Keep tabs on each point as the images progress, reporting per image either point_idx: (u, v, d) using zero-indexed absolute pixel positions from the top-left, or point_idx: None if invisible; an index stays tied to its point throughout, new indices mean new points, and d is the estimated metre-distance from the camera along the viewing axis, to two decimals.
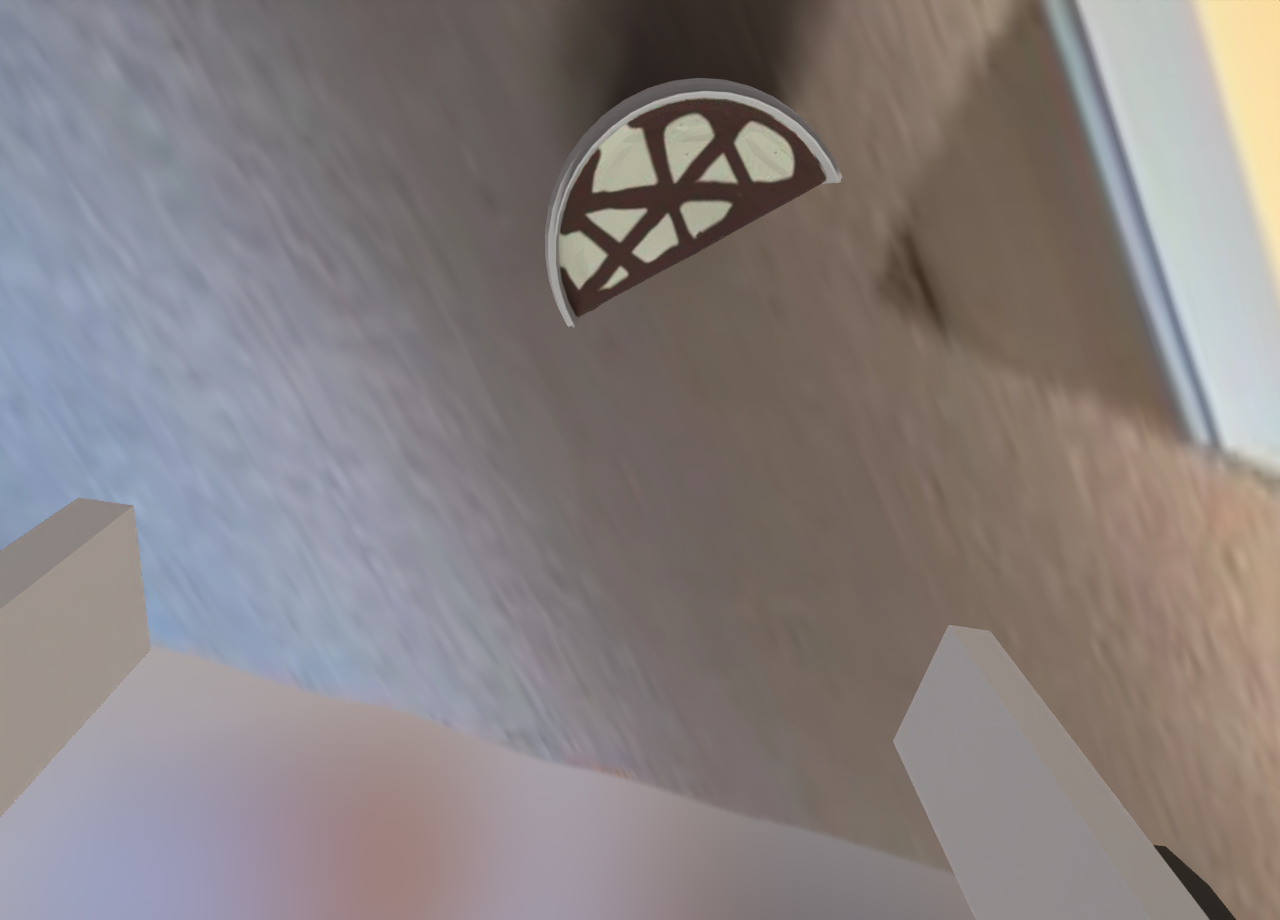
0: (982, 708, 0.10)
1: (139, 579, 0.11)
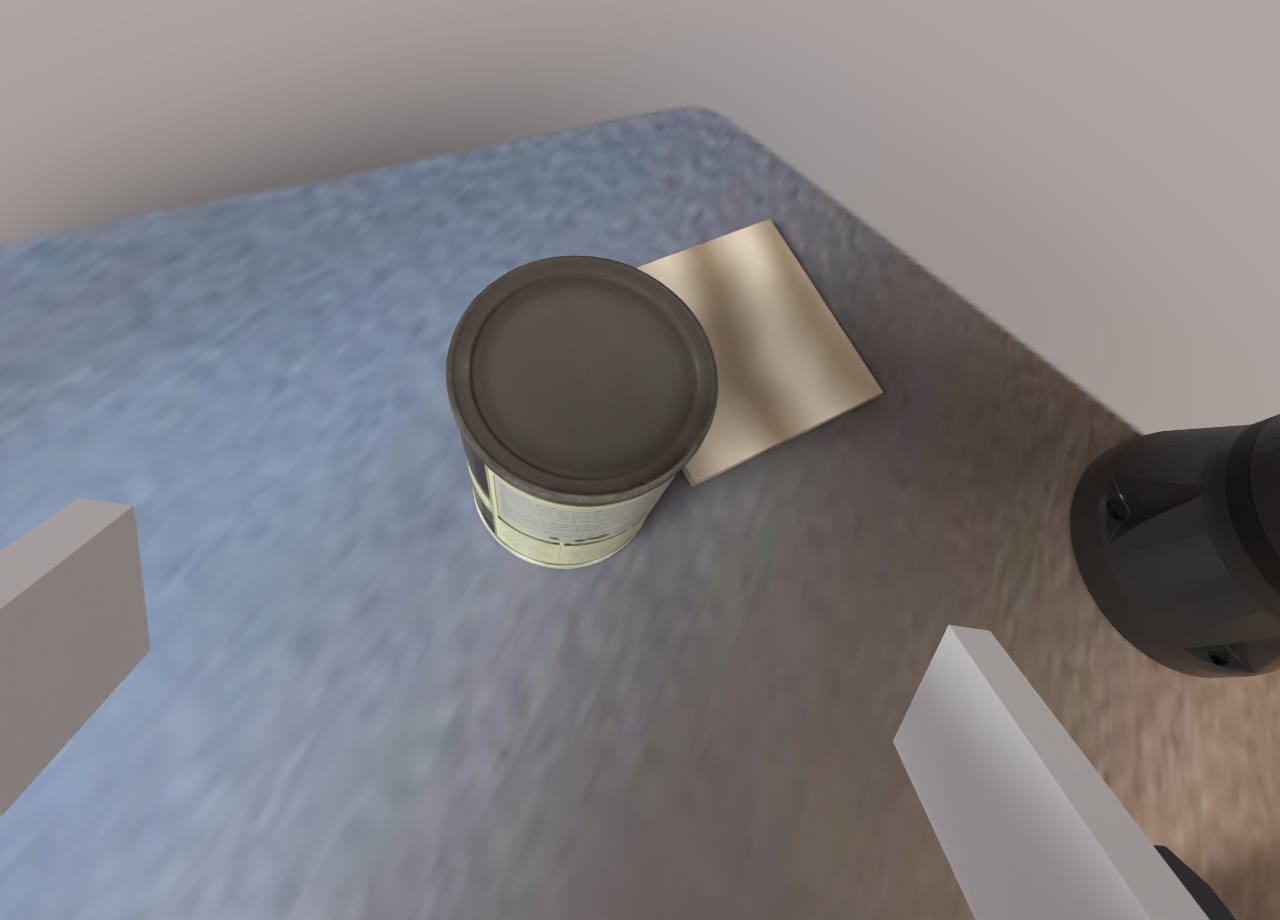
0: (982, 707, 0.10)
1: (139, 579, 0.11)
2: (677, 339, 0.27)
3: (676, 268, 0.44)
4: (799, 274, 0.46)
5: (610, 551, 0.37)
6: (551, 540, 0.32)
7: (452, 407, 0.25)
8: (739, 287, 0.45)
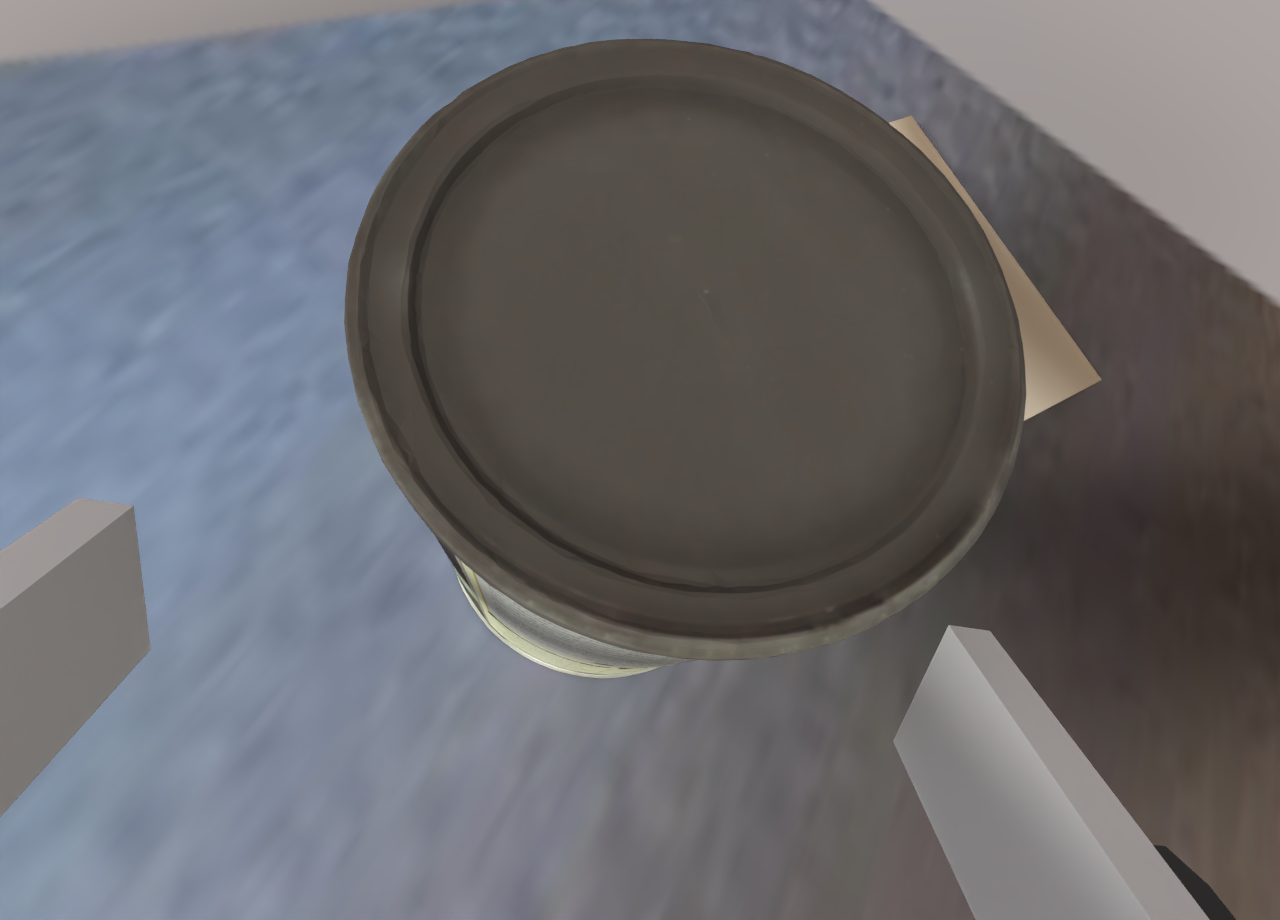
0: (982, 708, 0.10)
1: (139, 580, 0.11)
2: (915, 234, 0.12)
3: None
4: None
5: None
6: (595, 664, 0.16)
7: (357, 388, 0.09)
8: None
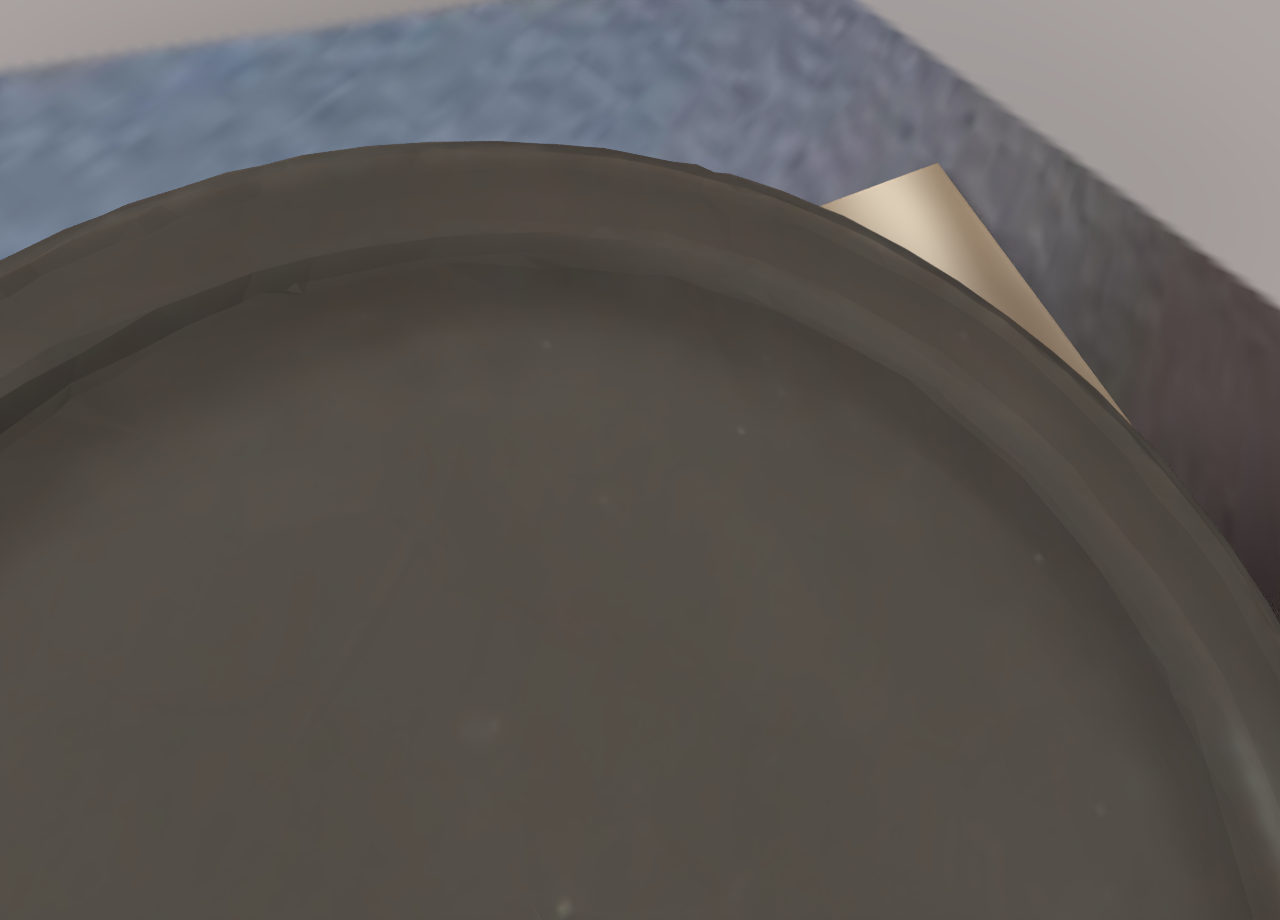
0: None
1: None
2: (1109, 624, 0.05)
3: None
4: (1004, 270, 0.23)
5: None
6: None
7: None
8: None
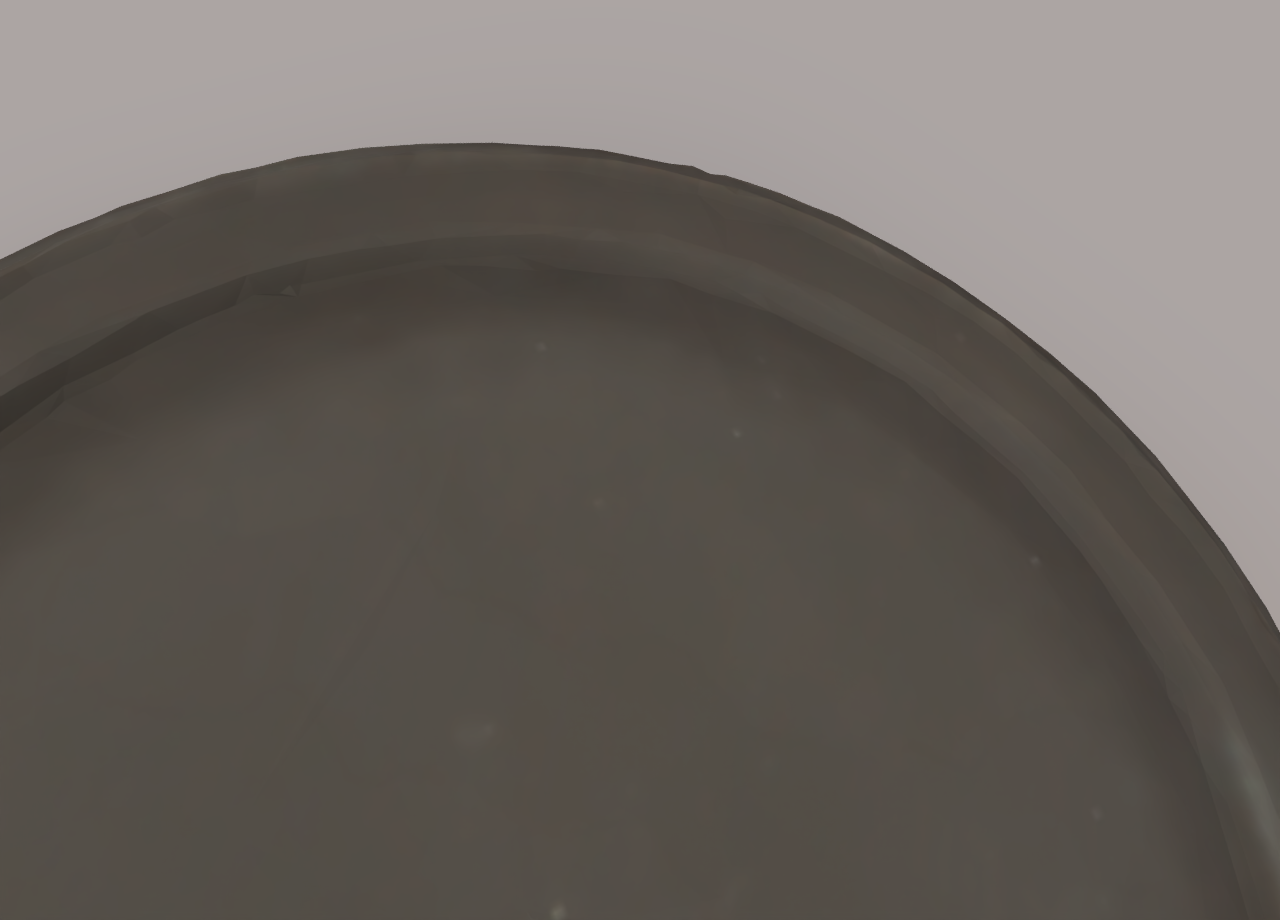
0: None
1: None
2: (1105, 626, 0.05)
3: None
4: None
5: None
6: None
7: None
8: None
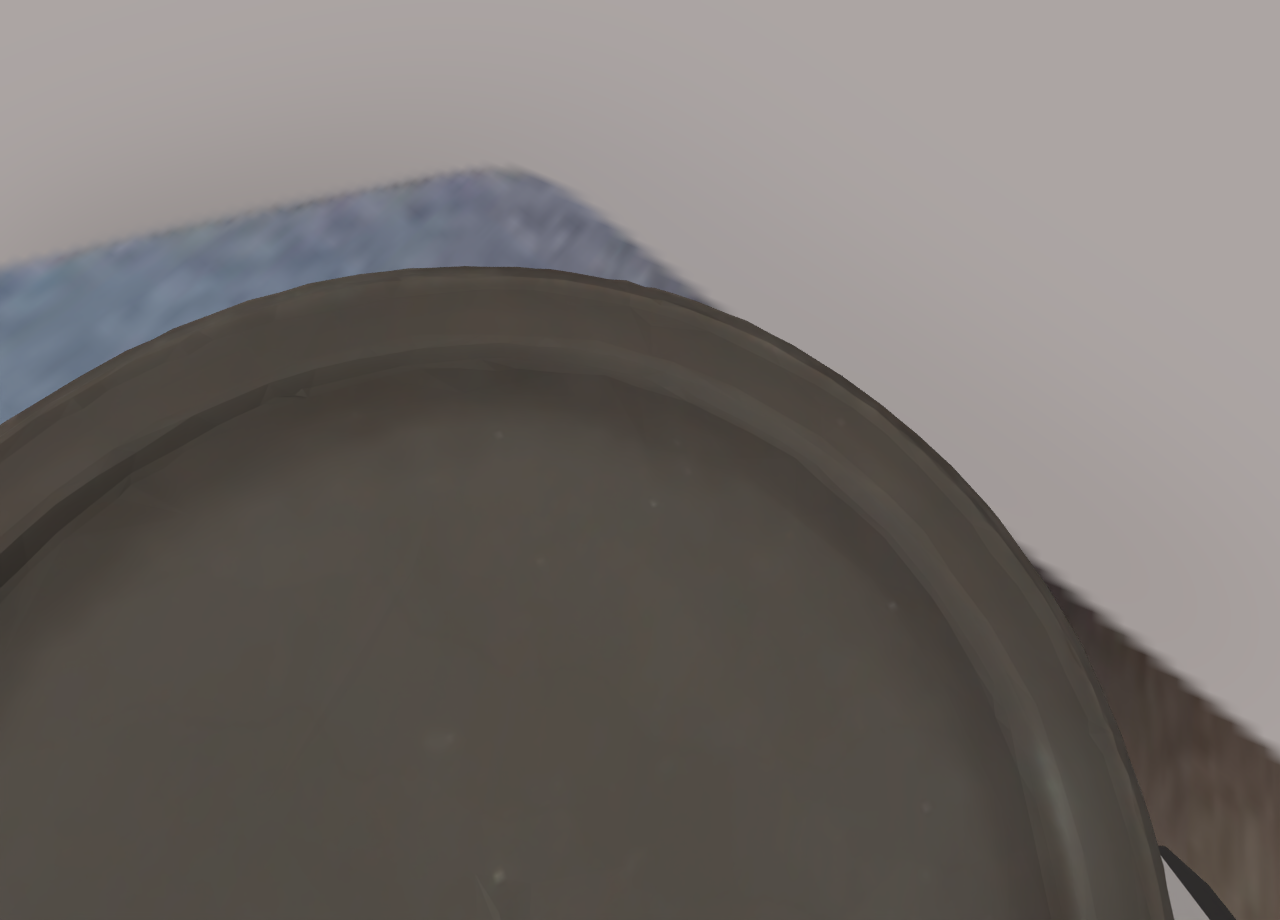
0: None
1: None
2: (946, 659, 0.06)
3: None
4: None
5: None
6: None
7: None
8: None
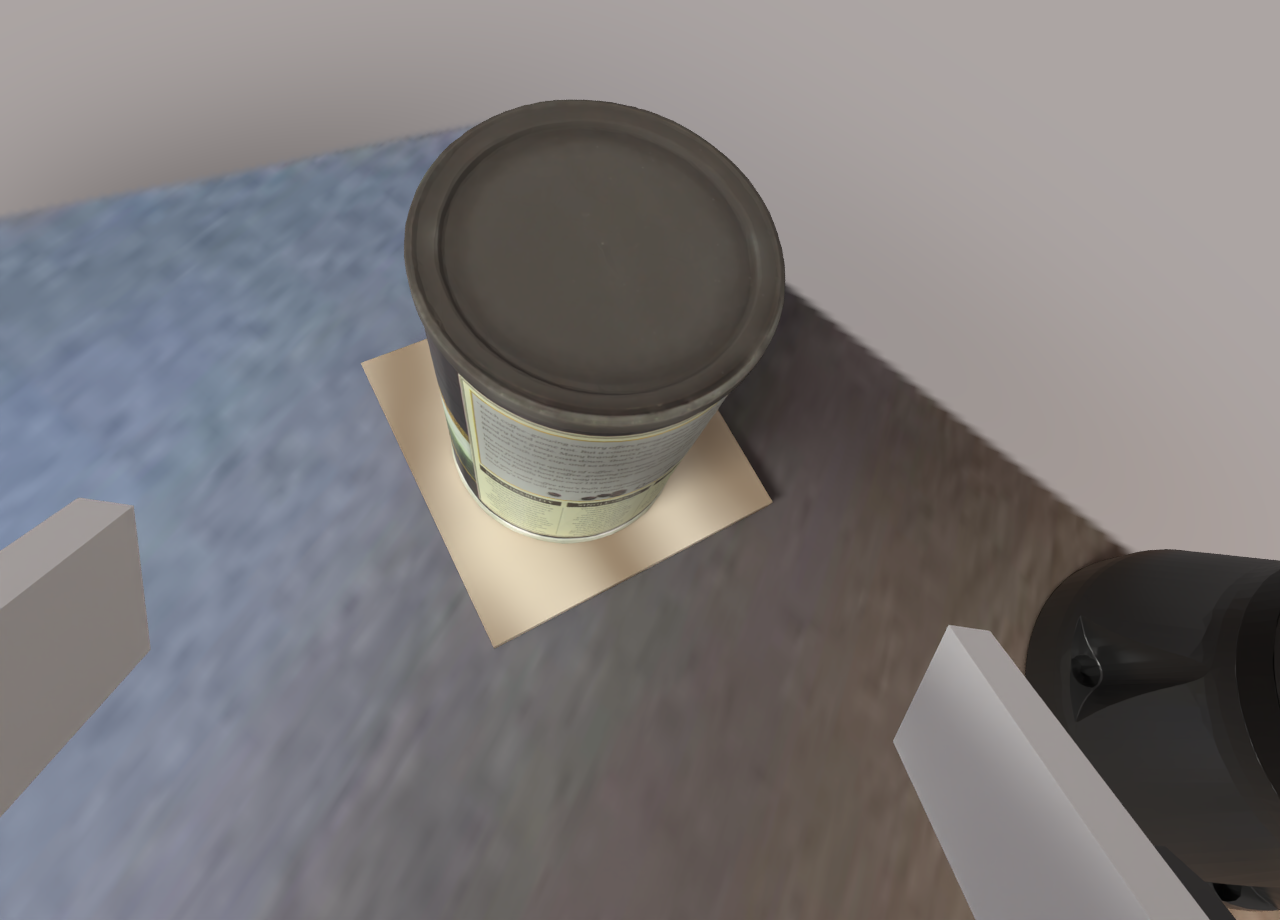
0: (982, 707, 0.10)
1: (139, 579, 0.11)
2: (728, 213, 0.20)
3: None
4: None
5: (623, 521, 0.29)
6: (550, 498, 0.24)
7: (412, 288, 0.17)
8: None
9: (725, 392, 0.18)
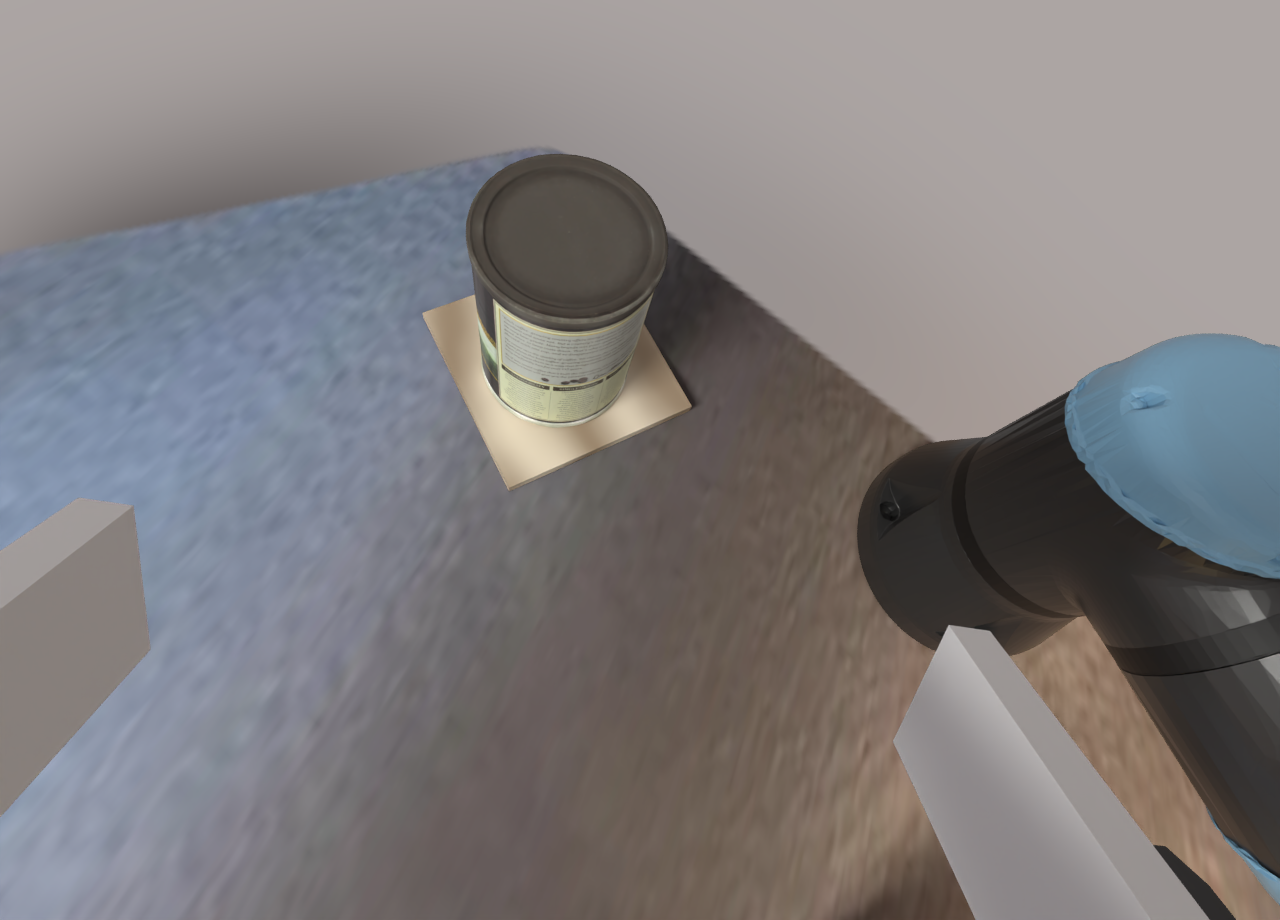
0: (983, 708, 0.10)
1: (139, 579, 0.11)
2: (638, 216, 0.37)
3: None
4: None
5: (591, 411, 0.46)
6: (543, 383, 0.41)
7: (470, 254, 0.34)
8: None
9: (631, 308, 0.35)
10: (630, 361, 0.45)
